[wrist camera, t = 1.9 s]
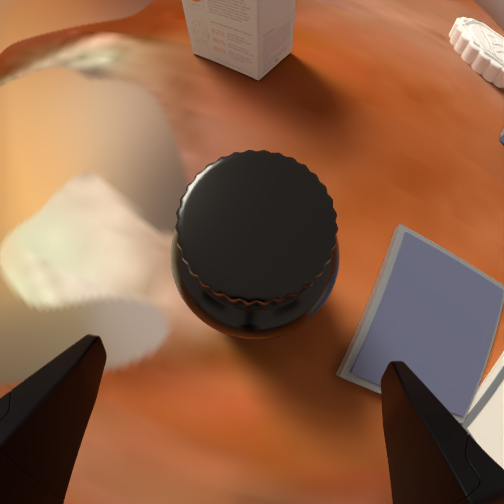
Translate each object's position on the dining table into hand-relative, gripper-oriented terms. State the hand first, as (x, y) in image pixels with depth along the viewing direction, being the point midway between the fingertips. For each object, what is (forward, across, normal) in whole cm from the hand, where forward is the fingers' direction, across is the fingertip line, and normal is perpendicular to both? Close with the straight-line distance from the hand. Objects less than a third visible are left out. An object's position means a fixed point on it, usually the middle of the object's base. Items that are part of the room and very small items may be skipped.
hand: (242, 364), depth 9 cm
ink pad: (+9, -13, +7) cm, 17 cm away
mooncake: (+33, -29, -17) cm, 47 cm away
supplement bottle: (+11, 0, +5) cm, 12 cm away
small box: (+26, +3, -10) cm, 28 cm away
